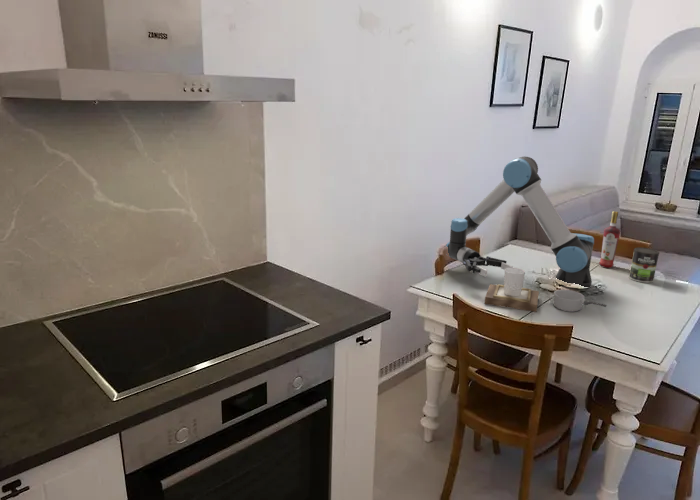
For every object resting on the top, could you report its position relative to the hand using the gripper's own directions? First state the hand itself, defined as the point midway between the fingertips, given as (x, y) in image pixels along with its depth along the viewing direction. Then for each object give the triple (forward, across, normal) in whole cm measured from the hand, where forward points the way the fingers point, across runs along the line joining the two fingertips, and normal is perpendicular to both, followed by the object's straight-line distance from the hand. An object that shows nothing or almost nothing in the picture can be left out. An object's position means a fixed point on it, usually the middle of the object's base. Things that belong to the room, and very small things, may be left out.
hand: (499, 271), depth 218 cm
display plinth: (+10, 0, -10) cm, 14 cm away
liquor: (-9, -76, -10) cm, 77 cm away
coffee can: (+10, -76, -10) cm, 77 cm away
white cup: (+9, 0, -7) cm, 11 cm away
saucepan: (+27, -18, -10) cm, 34 cm away
